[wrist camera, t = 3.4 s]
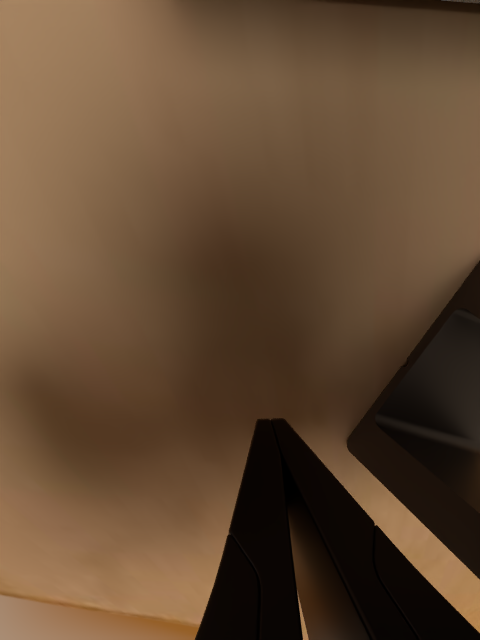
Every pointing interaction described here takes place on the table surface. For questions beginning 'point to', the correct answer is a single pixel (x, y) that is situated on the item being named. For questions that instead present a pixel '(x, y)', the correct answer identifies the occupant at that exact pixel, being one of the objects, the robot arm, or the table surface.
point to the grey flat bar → (468, 0)
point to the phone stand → (434, 428)
